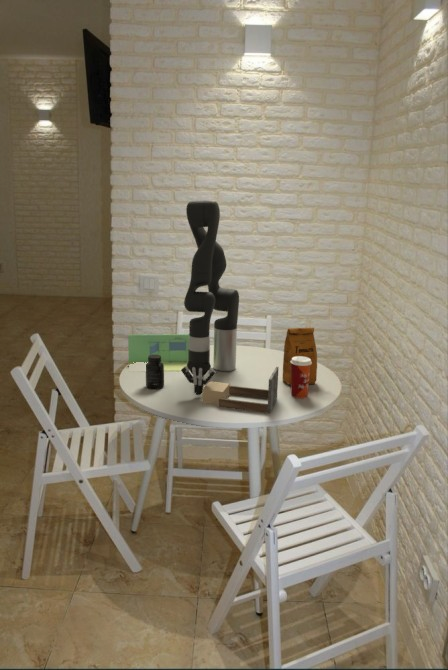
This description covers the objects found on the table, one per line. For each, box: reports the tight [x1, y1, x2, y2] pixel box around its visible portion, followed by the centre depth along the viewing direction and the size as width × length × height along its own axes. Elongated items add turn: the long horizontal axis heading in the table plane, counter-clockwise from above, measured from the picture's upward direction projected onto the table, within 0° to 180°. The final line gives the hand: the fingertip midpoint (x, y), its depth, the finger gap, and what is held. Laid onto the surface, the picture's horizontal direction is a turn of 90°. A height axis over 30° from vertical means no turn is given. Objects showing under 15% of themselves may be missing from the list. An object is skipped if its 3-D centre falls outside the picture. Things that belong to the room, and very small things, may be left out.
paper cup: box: [290, 356, 312, 399], centre depth 215 cm, size 8×8×14 cm
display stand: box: [127, 333, 190, 372], centre depth 245 cm, size 30×12×12 cm, turn 97°
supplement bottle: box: [145, 355, 165, 391], centre depth 221 cm, size 7×7×12 cm
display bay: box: [218, 366, 280, 414], centre depth 207 cm, size 14×18×12 cm
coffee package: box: [282, 327, 318, 386], centre depth 228 cm, size 10×12×22 cm
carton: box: [201, 380, 231, 405], centre depth 212 cm, size 9×8×5 cm
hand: (198, 394), depth 213 cm, fingers closed
